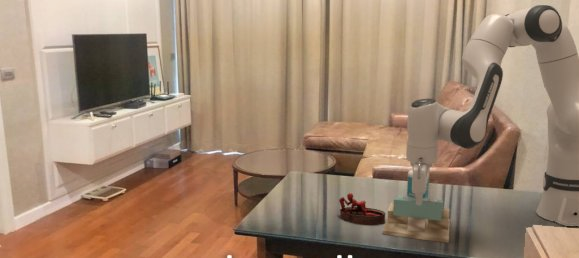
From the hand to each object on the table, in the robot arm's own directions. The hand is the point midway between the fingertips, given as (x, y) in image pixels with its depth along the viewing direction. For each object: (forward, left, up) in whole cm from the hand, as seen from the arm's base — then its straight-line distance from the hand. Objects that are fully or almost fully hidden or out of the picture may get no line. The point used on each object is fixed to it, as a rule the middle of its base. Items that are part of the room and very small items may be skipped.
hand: (420, 198), depth 145 cm
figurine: (+18, -5, -11) cm, 22 cm away
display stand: (+1, -3, -11) cm, 11 cm away
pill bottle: (+3, -29, -11) cm, 31 cm away
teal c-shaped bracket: (+1, -5, -6) cm, 8 cm away
